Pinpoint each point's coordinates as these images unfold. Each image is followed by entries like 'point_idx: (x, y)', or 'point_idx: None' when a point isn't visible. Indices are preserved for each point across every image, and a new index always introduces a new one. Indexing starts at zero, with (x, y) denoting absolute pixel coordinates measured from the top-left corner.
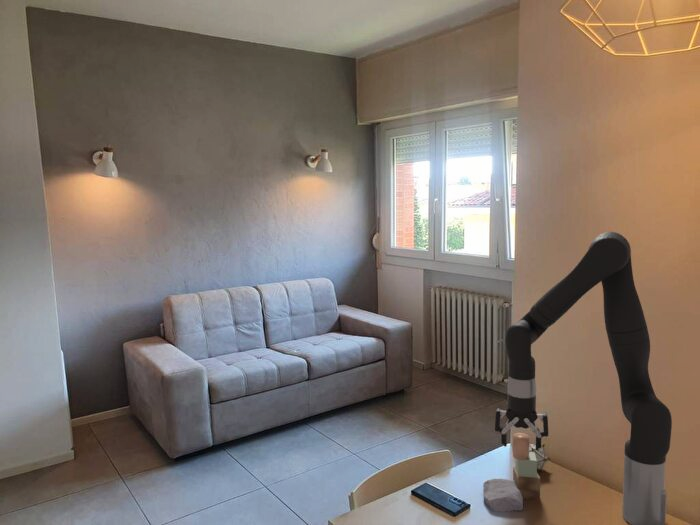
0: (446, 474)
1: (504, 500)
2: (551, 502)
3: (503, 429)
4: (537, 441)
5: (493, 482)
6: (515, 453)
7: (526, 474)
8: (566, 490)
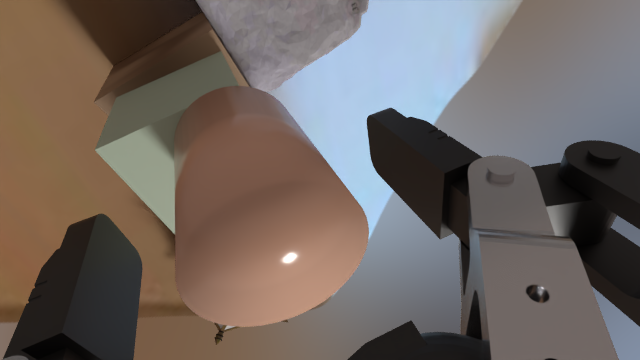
0: (485, 43)
1: None
2: (43, 60)
3: (538, 195)
4: (52, 297)
5: (331, 9)
6: (274, 105)
7: (175, 77)
8: (54, 192)
